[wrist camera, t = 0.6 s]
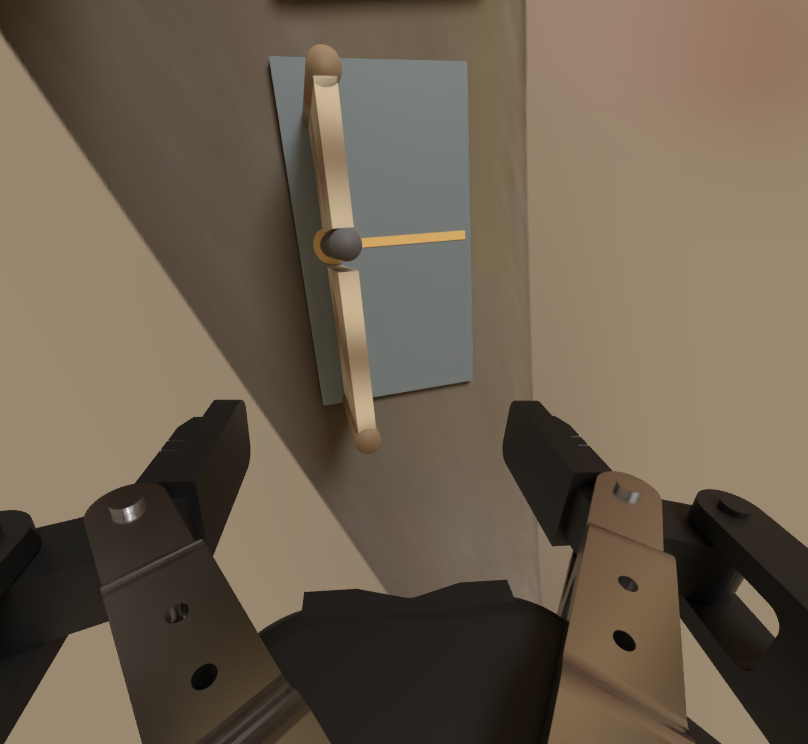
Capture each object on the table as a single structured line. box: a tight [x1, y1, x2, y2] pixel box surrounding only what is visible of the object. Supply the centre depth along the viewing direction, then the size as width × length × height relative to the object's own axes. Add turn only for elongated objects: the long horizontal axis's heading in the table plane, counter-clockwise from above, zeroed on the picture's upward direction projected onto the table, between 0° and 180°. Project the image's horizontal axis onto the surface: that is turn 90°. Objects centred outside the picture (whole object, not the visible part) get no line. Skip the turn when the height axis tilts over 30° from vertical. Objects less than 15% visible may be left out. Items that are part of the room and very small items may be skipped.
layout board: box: [269, 56, 473, 406], centre depth 31 cm, size 25×14×1 cm, turn 5°
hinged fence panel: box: [327, 265, 382, 454], centre depth 28 cm, size 12×2×8 cm, turn 5°
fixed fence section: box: [302, 44, 362, 261], centre depth 25 cm, size 10×2×10 cm, turn 5°
